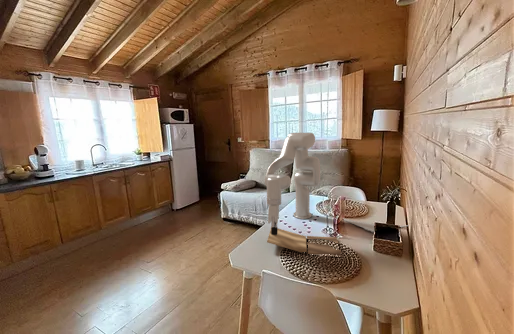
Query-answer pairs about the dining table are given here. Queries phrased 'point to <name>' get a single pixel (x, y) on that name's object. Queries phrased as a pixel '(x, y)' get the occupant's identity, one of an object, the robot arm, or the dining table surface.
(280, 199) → the robot arm
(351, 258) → the dining table surface
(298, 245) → the oak plank
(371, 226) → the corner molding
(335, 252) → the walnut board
